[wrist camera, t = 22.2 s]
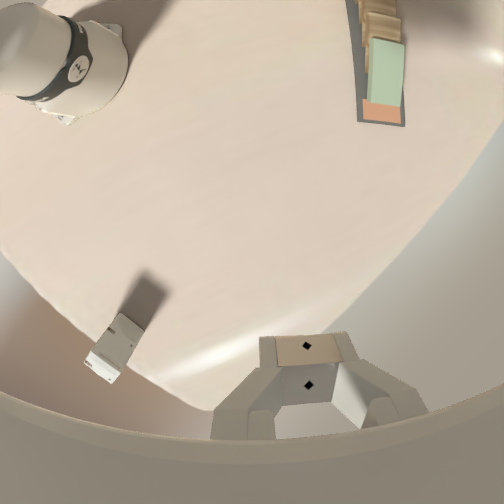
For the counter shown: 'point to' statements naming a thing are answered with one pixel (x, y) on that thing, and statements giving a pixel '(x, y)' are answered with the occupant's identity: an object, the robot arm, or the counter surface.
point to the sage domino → (385, 72)
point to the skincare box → (114, 348)
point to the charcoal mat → (364, 108)
